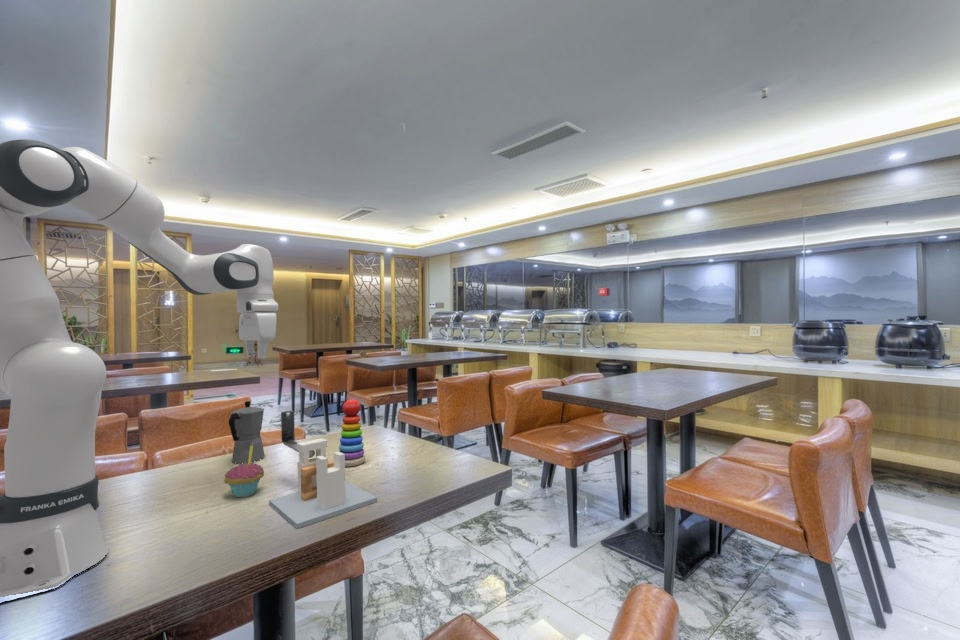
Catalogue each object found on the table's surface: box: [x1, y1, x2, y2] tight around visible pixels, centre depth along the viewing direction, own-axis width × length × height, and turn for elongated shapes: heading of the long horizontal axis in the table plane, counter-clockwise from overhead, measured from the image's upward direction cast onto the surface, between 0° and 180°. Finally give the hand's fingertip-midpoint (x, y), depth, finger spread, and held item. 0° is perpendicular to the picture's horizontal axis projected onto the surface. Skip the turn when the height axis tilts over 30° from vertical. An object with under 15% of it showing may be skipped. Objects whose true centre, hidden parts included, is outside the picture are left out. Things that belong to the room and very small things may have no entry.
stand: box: [268, 438, 378, 529], centre depth 98 cm, size 18×17×13 cm
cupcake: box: [223, 443, 265, 498], centre depth 105 cm, size 9×8×12 cm
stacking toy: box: [338, 398, 366, 468], centre depth 127 cm, size 8×8×19 cm
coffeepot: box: [228, 400, 265, 463], centre depth 132 cm, size 15×9×18 cm, turn 178°
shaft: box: [280, 410, 316, 459], centre depth 109 cm, size 3×17×9 cm, turn 43°
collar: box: [301, 460, 334, 501], centre depth 100 cm, size 7×2×7 cm, turn 133°
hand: (256, 357), depth 115 cm, fingers open, 8 cm apart
